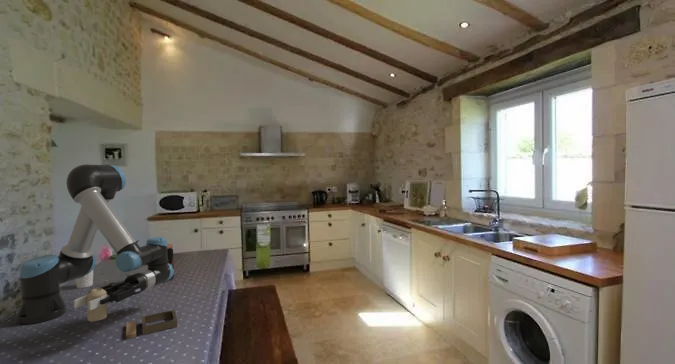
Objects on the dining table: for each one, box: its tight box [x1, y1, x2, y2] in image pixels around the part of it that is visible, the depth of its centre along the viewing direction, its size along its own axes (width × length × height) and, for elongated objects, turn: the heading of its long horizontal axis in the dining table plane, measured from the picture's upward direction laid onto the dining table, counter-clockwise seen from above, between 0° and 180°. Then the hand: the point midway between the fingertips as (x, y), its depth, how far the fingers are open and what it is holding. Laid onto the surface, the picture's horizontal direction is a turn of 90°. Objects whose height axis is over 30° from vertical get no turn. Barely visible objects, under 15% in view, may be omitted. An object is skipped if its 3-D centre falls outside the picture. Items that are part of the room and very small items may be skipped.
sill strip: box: [125, 320, 137, 340], centre depth 123 cm, size 3×12×1 cm, turn 31°
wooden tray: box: [141, 309, 178, 335], centre depth 127 cm, size 11×11×2 cm
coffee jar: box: [167, 243, 175, 282], centre depth 182 cm, size 11×11×18 cm
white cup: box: [74, 269, 94, 289], centre depth 175 cm, size 8×8×10 cm
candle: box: [86, 287, 108, 322], centre depth 117 cm, size 6×6×10 cm
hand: (82, 305), depth 112 cm, fingers closed on candle, 5 cm apart
